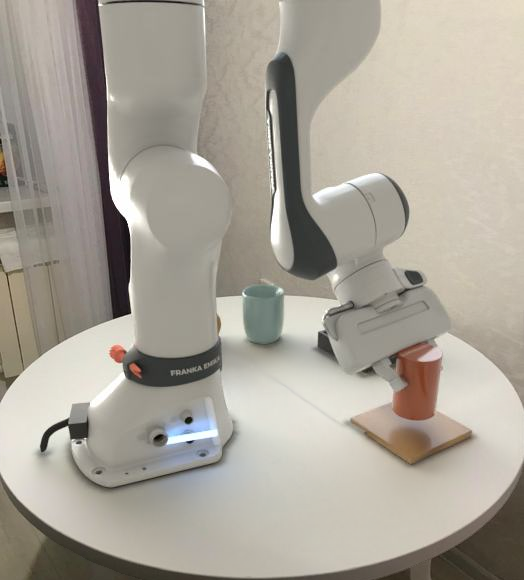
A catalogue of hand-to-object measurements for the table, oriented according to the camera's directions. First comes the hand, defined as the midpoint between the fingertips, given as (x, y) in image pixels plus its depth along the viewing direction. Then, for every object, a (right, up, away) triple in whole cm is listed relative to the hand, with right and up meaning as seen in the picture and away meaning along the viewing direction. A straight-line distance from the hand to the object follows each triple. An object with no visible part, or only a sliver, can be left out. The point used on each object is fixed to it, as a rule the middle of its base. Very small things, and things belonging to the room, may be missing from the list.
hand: (420, 380), depth 80 cm
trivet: (-1, -7, +4) cm, 8 cm away
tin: (-2, +4, +27) cm, 28 cm away
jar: (0, -4, +2) cm, 5 cm away
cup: (-21, +6, +33) cm, 40 cm away
